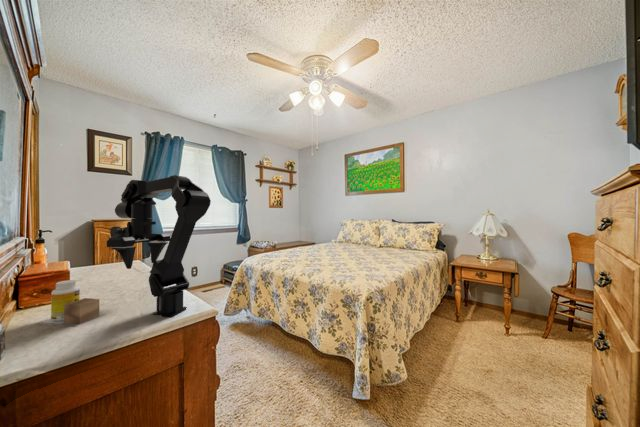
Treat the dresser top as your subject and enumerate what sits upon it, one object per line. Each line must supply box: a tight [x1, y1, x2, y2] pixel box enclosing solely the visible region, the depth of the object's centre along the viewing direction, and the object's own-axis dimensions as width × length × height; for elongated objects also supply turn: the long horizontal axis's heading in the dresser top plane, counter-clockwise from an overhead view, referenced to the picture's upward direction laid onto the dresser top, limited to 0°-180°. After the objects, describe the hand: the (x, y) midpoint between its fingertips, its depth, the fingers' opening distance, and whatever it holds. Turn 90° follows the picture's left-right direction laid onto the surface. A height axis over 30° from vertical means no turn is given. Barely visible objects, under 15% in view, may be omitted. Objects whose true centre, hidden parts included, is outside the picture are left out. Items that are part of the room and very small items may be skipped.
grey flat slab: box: [37, 313, 107, 328], centre depth 68 cm, size 12×8×1 cm, turn 82°
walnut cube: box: [64, 297, 100, 325], centre depth 68 cm, size 5×5×5 cm
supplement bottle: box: [50, 279, 81, 321], centre depth 69 cm, size 6×6×10 cm
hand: (141, 265), depth 80 cm, fingers open, 9 cm apart
